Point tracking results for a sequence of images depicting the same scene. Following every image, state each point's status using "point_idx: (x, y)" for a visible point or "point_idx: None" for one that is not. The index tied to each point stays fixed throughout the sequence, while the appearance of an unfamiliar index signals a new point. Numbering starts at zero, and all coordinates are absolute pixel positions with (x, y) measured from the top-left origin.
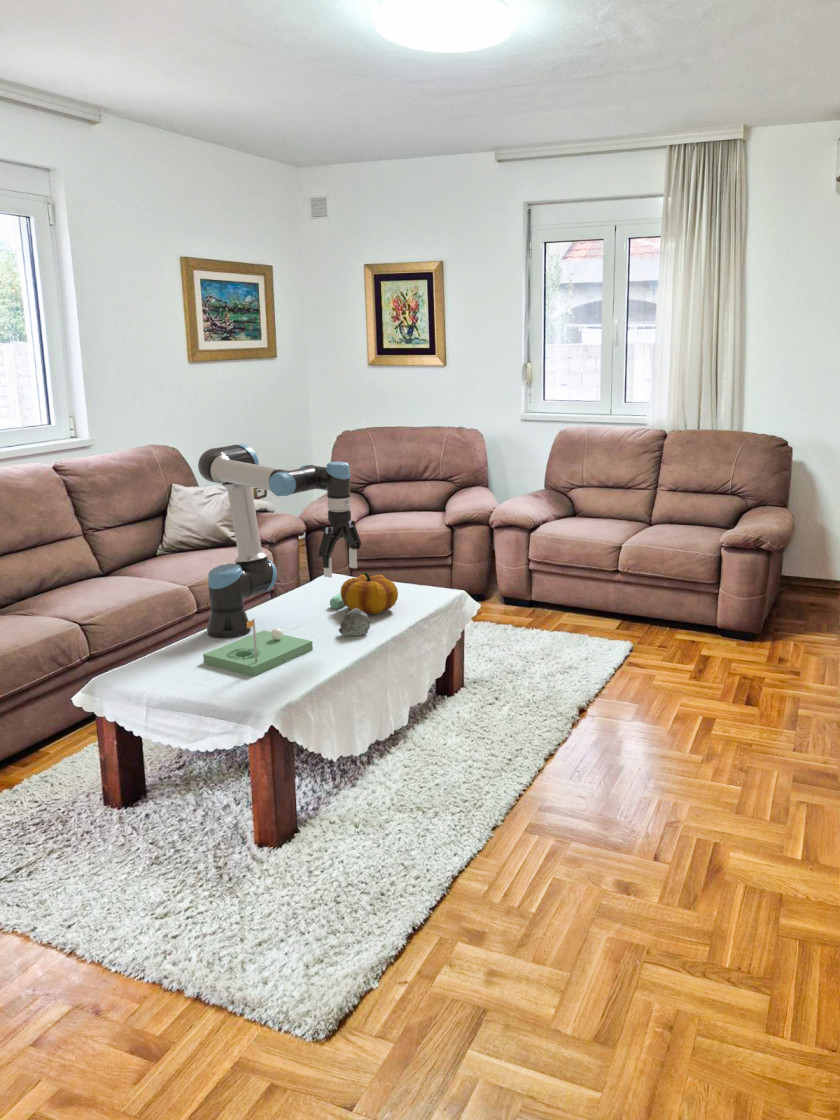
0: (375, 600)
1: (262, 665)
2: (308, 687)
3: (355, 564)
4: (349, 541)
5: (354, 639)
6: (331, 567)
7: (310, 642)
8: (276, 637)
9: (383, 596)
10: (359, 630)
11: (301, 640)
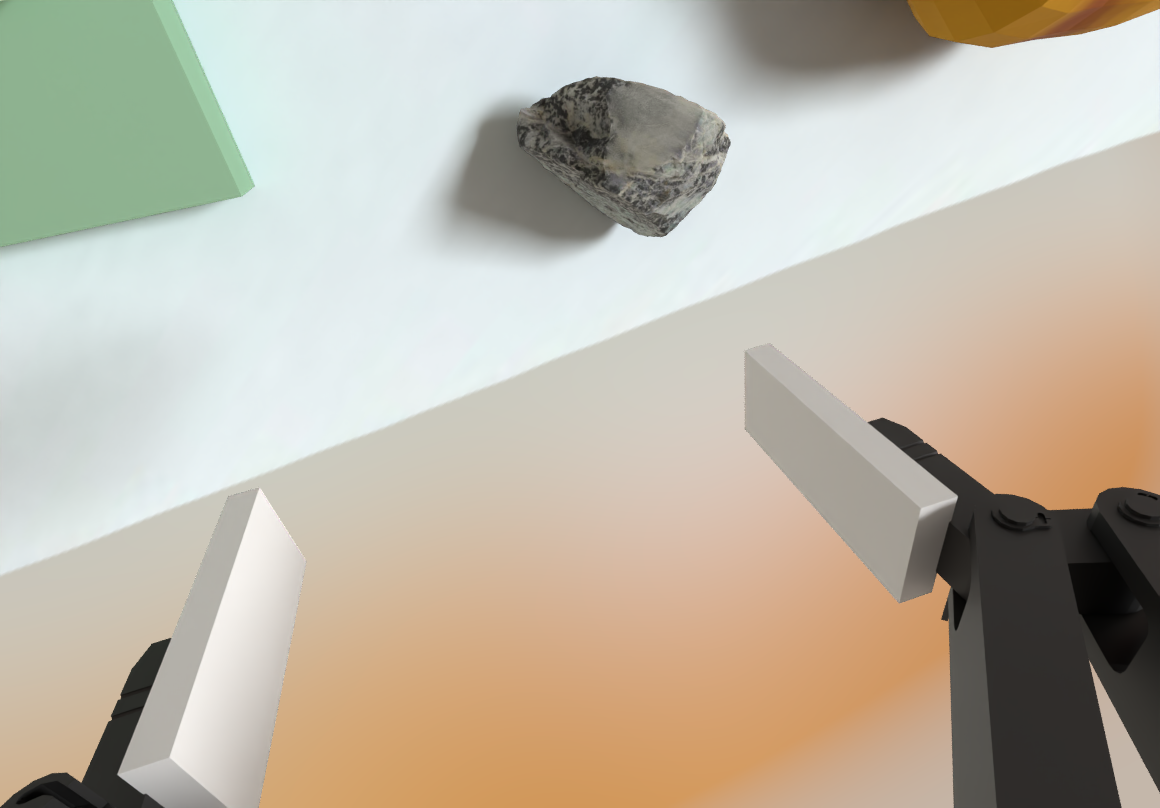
0: (947, 18)
1: None
2: (5, 568)
3: (768, 453)
4: (967, 738)
5: (538, 223)
6: (278, 672)
7: (223, 199)
8: None
9: (1004, 41)
10: (601, 207)
11: (177, 128)
